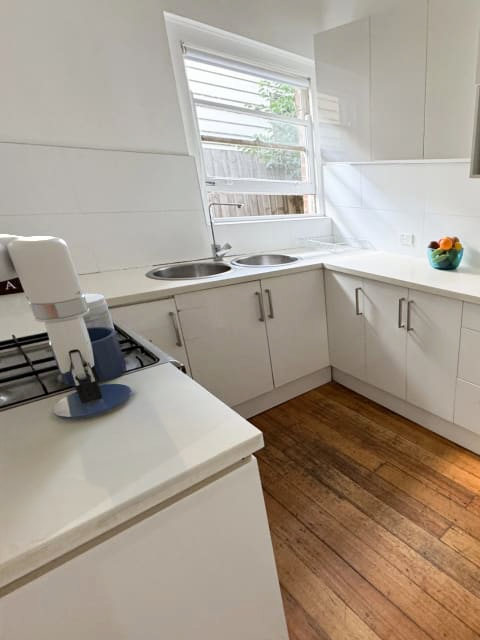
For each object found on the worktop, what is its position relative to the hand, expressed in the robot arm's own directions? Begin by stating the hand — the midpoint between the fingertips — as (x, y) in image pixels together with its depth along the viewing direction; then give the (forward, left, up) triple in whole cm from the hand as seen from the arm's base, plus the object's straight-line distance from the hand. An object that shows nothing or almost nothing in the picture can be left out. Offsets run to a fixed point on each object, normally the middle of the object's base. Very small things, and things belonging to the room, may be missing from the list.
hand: (91, 391), depth 76 cm
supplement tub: (+2, +28, -3) cm, 28 cm away
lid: (0, 0, -2) cm, 2 cm away
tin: (+1, +15, -3) cm, 15 cm away
